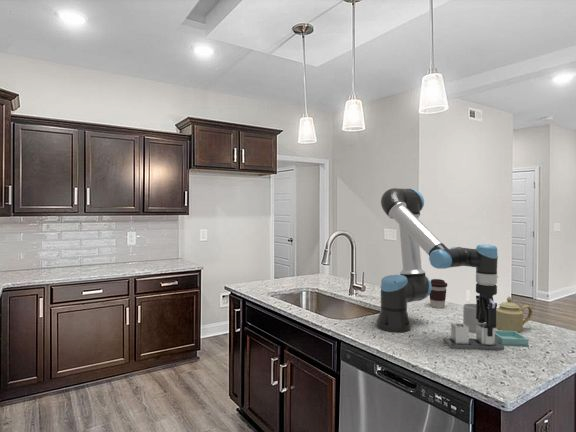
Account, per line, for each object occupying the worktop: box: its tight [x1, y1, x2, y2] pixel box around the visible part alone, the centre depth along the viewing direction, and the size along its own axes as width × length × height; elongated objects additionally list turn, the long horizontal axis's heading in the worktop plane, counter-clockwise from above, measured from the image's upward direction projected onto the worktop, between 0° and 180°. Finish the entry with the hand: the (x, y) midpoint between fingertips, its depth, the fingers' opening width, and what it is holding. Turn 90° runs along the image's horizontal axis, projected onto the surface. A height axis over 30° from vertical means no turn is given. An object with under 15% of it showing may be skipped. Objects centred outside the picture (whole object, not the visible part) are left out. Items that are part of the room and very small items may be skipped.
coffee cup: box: [429, 278, 448, 309], centre depth 213 cm, size 10×10×15 cm
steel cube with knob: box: [475, 324, 496, 346], centre depth 153 cm, size 5×5×8 cm
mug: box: [462, 303, 479, 334], centre depth 174 cm, size 12×8×11 cm
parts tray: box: [495, 329, 529, 347], centre depth 159 cm, size 10×10×3 cm
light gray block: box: [450, 322, 470, 345], centre depth 154 cm, size 5×5×8 cm
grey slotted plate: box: [442, 337, 505, 351], centre depth 154 cm, size 20×9×1 cm, turn 86°
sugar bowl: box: [495, 295, 533, 333], centre depth 176 cm, size 15×11×15 cm
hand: (485, 341), depth 153 cm, fingers closed on steel cube with knob, 5 cm apart
